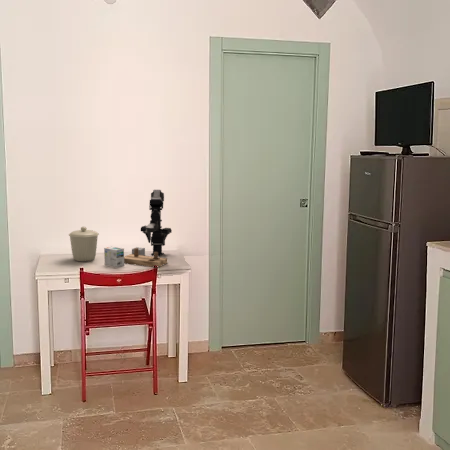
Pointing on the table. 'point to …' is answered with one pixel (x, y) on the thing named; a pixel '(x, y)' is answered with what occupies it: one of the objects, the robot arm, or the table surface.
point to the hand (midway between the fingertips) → (156, 243)
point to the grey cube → (139, 251)
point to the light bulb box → (114, 256)
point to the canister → (83, 244)
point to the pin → (156, 255)
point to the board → (143, 259)
